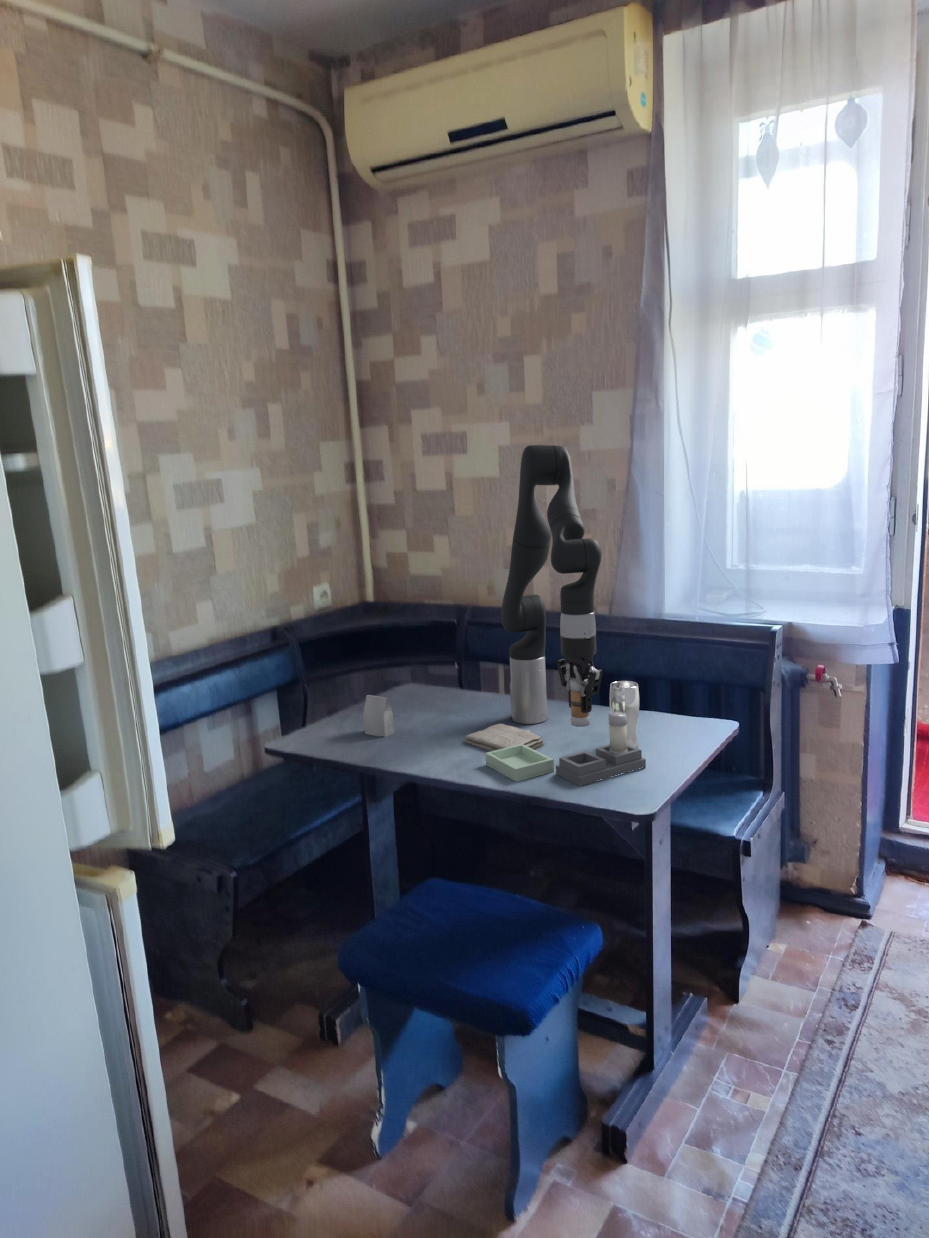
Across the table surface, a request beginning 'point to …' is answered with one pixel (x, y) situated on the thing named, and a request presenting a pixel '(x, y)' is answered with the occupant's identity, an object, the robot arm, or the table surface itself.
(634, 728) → the beer glass
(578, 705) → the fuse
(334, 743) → the table surface
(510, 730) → the washcloth
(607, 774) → the fuse block
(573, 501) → the robot arm
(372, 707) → the tea bag
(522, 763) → the parts tray
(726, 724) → the table surface
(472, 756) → the table surface
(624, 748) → the fuse
